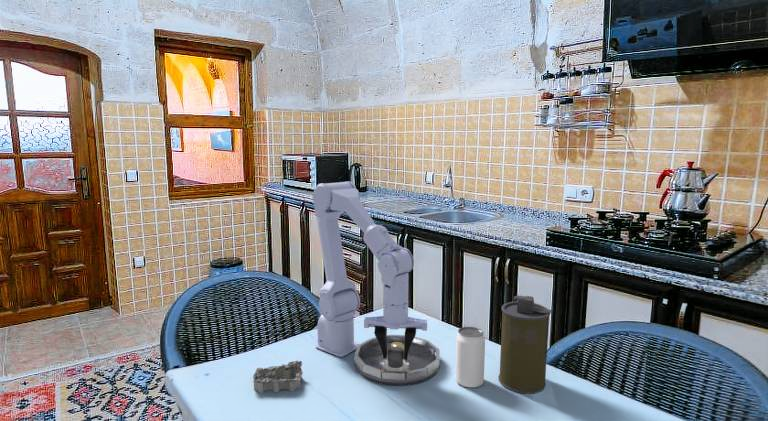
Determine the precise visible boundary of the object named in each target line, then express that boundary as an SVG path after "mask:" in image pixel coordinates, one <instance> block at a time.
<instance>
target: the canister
mask: <svg viewBox="0 0 768 421" xmlns="http://www.w3.org/2000/svg"><path fill="white" fill-rule="evenodd" d="M534 300H535V299H534V296H531V295H527V296H524V295H515V296H513V301H510V302H507V303H503V304H502V305H501V312H502V313H501V332H500V333H501V336H500V338H501V339H500V357H499V358H500V359H499V360H500V361H499V374H498V381H499V383H500V384H501V385H502V386H503V387H504V388H506V389H507V390H510V391H513V392H515V393H518V394H520V393H521V394H527V395H528V394H529V395H530V394H532V395H533V394H538V393H541V392H543V391H544V390H545V389H546V387H547V383H546V377H547V376H546V372H547V359H548V358H547V357H548V343H549V342H550V345H549V346H550V347H551V342H552V341H549V327H550V326H549V325H550V323H549V322H550V315H551V314H553V310H552V309H549V308H548V307H546V306H543V305H542V304H539V303H535V301H534ZM552 325H553V324H551V328H550V329H551V330H552ZM548 341H549V342H548ZM550 359H551V358H549V361H550Z"/></svg>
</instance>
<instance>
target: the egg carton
mask: <svg viewBox="0 0 768 421" xmlns="http://www.w3.org/2000/svg"><path fill="white" fill-rule="evenodd" d="M302 366H303V362H302V360H299V361H298V360H295V361H293V360H292V361H290V362H289V361H288V364H281V365H276V366H275V365H272V366H269V367H264V368H263V367H257V368H256V369H255V372H254V373H253V377H252V379H253V390H255V391H258V393H264V392H265V391H268V390H272V391H273V392H277V393H278V392H280V391H281V390H283V389H287V390H289V392H295V390H296V389H300V388H301V381H302V379H303V369H302ZM279 377H281V378H280V379H279V380H277V378H279ZM292 377H295V378H293V379H290V378H292ZM283 378H284V379H283Z"/></svg>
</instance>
